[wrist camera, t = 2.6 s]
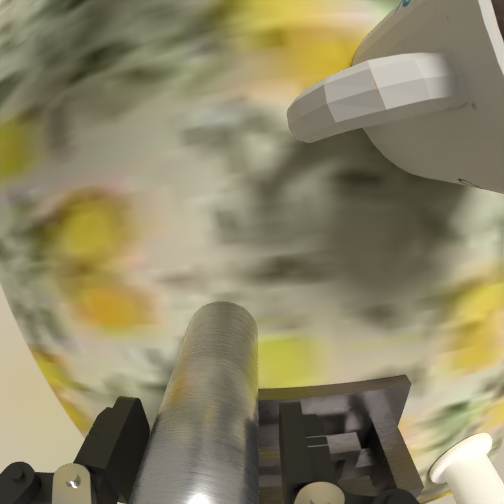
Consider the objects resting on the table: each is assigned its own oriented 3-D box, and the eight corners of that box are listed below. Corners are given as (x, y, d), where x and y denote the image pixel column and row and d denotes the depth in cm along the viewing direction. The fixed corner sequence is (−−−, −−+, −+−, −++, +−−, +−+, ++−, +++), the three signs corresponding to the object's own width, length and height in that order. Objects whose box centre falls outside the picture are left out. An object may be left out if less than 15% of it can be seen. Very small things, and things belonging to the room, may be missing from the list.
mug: (470, 32, 12) (590, -14, 2) (493, 175, 14) (633, 208, 4) (259, 21, 12) (262, -130, 3) (287, 193, 15) (346, 262, 5)
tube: (185, 302, 16) (75, 579, 3) (256, 300, 16) (256, 612, 3) (194, 362, 17) (133, 608, 4) (258, 362, 17) (260, 623, 4)
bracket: (179, 388, 18) (151, 483, 11) (405, 374, 18) (452, 455, 11) (205, 488, 21) (196, 558, 14) (370, 477, 21) (389, 542, 14)
